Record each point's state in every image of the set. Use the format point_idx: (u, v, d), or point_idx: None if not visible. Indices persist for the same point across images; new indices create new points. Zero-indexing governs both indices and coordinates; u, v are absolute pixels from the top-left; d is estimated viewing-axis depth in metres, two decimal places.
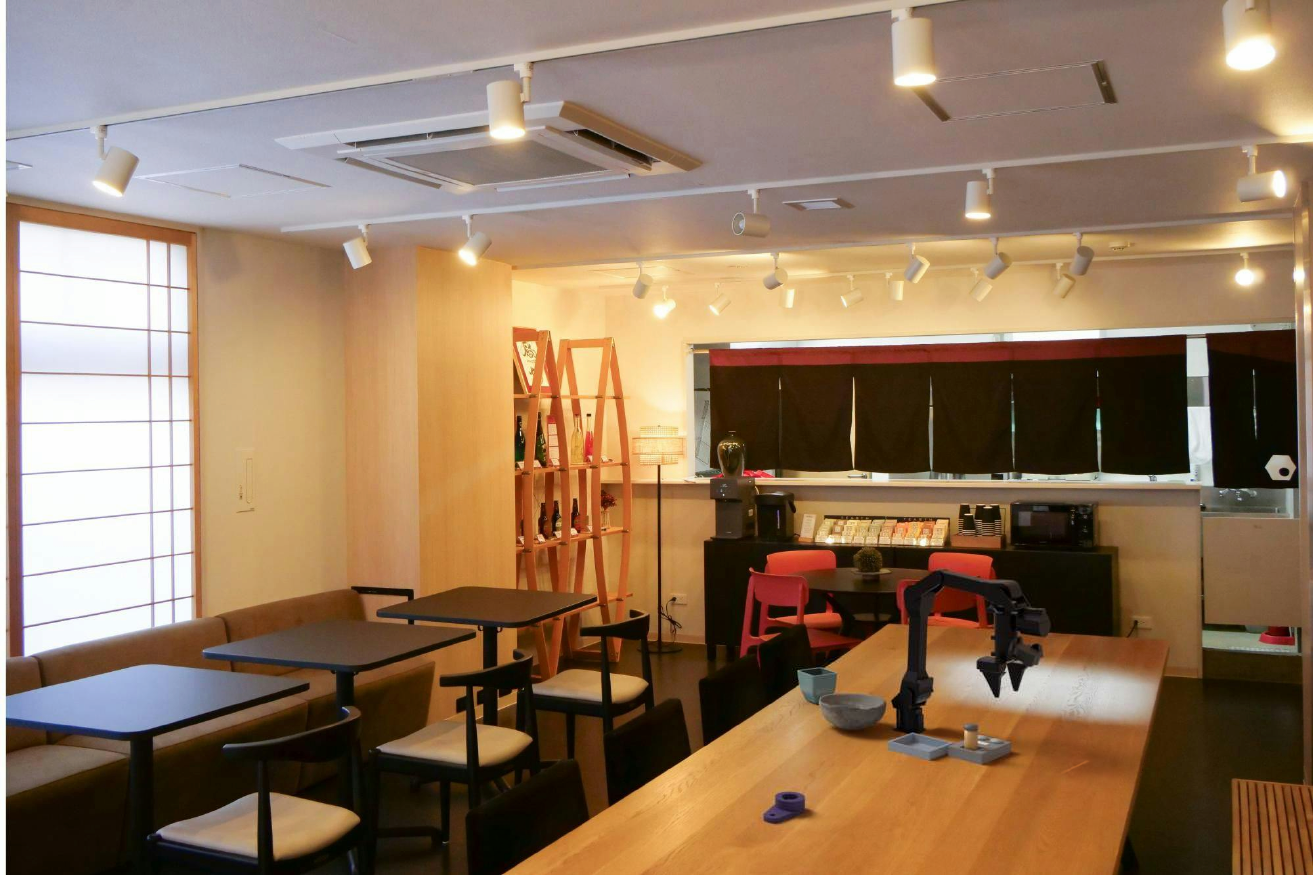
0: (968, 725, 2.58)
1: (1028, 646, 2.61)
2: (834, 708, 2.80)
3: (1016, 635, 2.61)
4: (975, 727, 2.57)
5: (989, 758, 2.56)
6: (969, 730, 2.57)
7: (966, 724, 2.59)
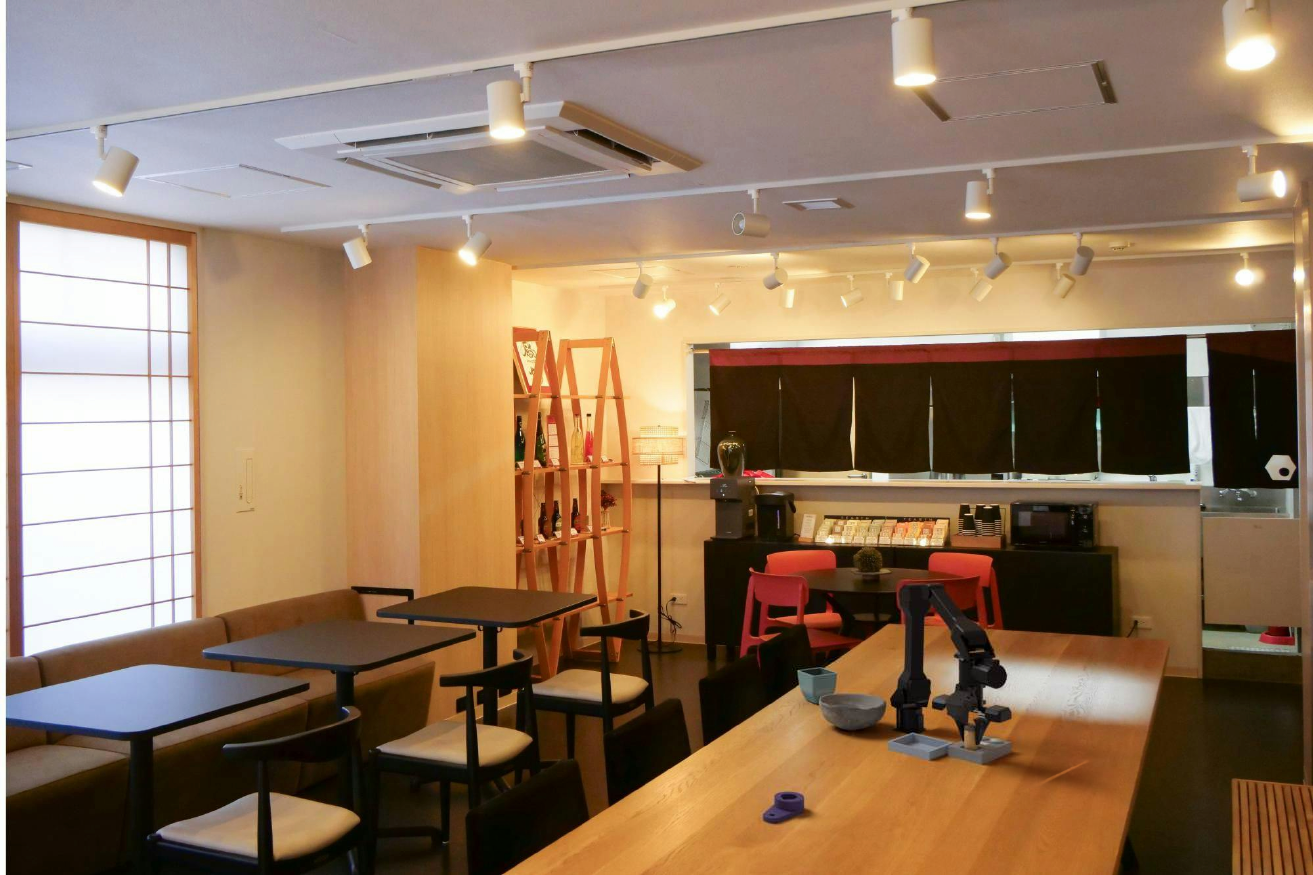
0: (968, 725, 2.58)
1: (966, 697, 2.54)
2: (834, 708, 2.80)
3: (964, 683, 2.57)
4: (975, 727, 2.57)
5: (989, 758, 2.56)
6: (969, 730, 2.57)
7: (966, 724, 2.59)
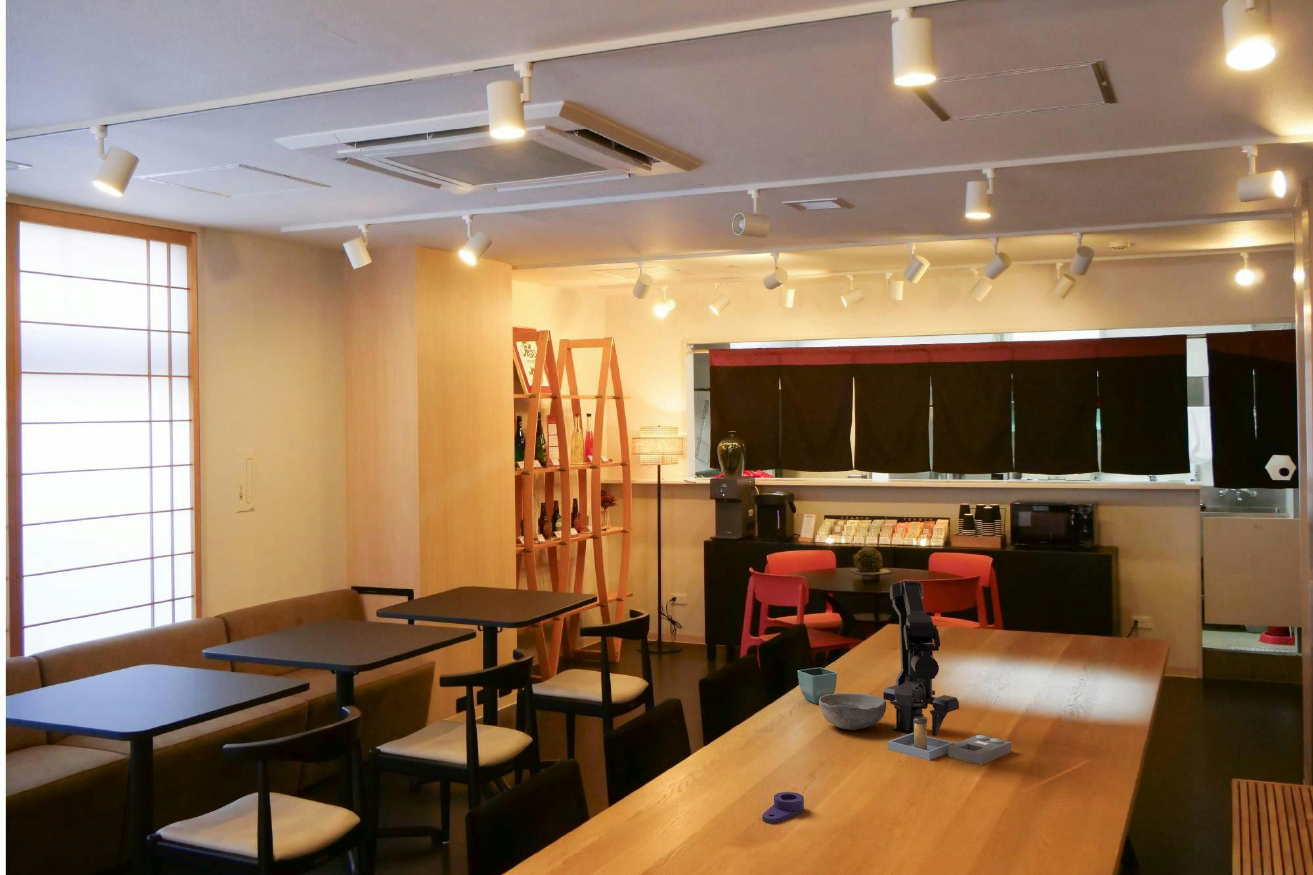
0: (917, 718, 2.64)
1: (914, 687, 2.60)
2: (834, 708, 2.80)
3: (913, 674, 2.63)
4: (924, 720, 2.64)
5: (989, 758, 2.56)
6: (918, 723, 2.64)
7: (915, 717, 2.65)
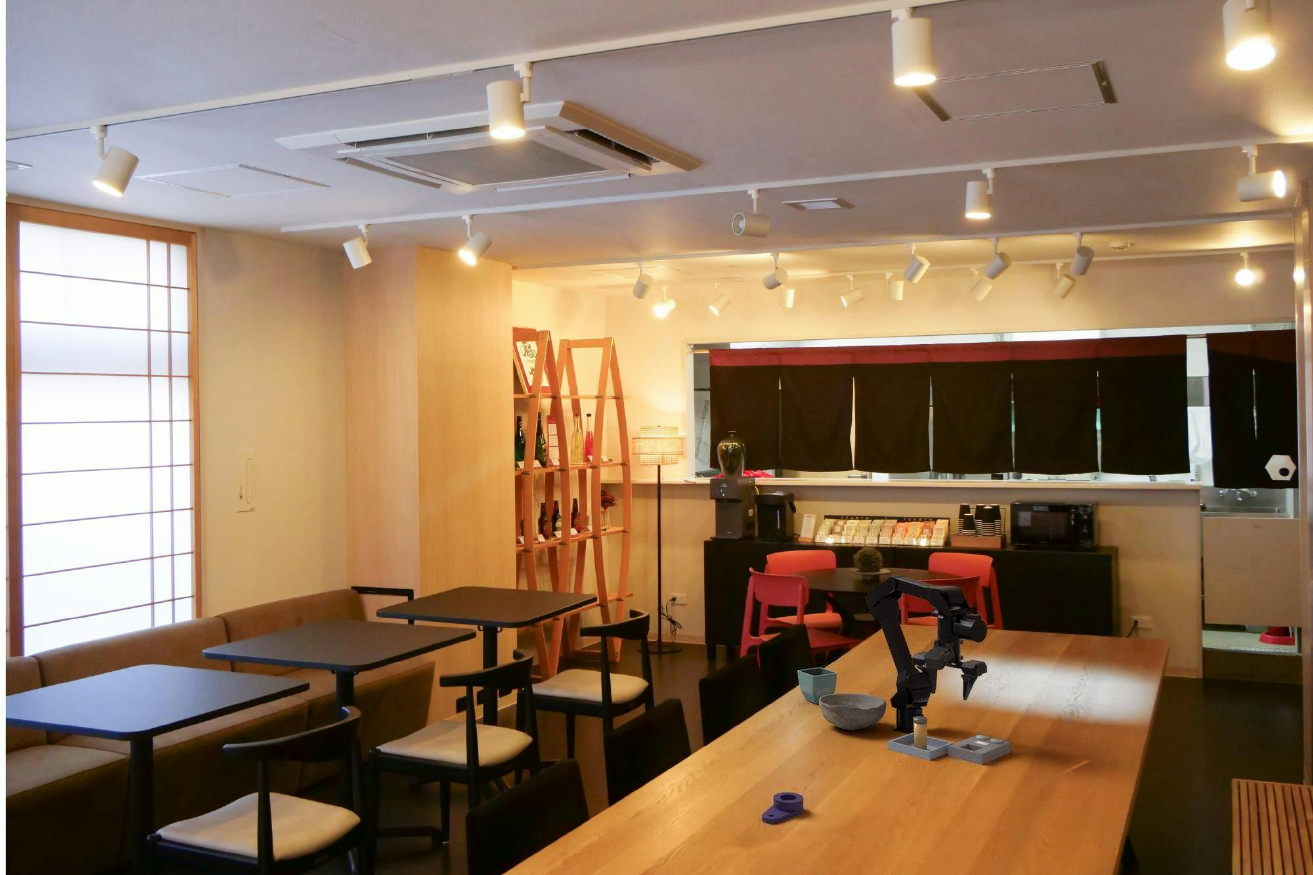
0: (917, 718, 2.64)
1: (944, 652, 2.67)
2: (834, 708, 2.80)
3: (942, 639, 2.70)
4: (924, 720, 2.63)
5: (989, 758, 2.56)
6: (918, 723, 2.64)
7: (916, 717, 2.65)
